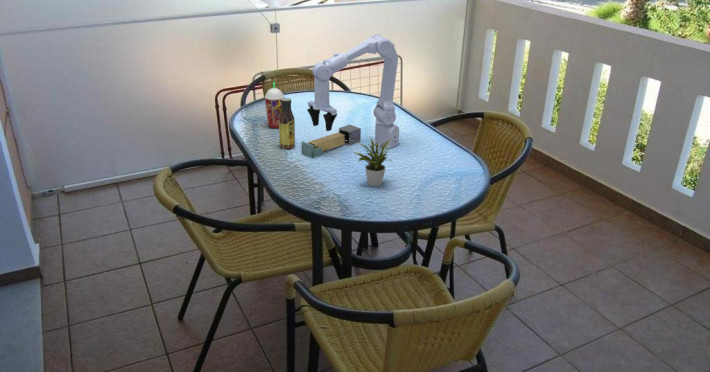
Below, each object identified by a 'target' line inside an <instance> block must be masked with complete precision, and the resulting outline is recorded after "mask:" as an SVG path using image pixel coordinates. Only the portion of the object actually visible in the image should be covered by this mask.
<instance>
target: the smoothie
mask: <svg viewBox="0 0 710 372" xmlns="http://www.w3.org/2000/svg"><path fill="white" fill-rule="evenodd" d="M272 85H273V86H272V87H271V88H269V89H268V90H267V92H266V94H265V95H264V101H265V109H266V110H265V111H266V118H267V120H266V121H267V124H268V126H269V128H272V129H279V115H280V113H281V111H282V103H281V99H283V98H285V95H284V94H283V92H282V90H281V89H279V88H277V87H275V86H276V83H275V81H273V82H272Z"/></svg>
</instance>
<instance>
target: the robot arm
mask: <svg viewBox="0 0 710 372" xmlns="http://www.w3.org/2000/svg"><path fill="white" fill-rule="evenodd" d="M365 54H374V55H377V54H379V56H380V57H381V58H382V59H383V67H382V68H383V69H382V77H381V85H380V92H379V99H378V100H377V101H376V106H375V107H374V109H373V116H374V117H375V127H374V128H375V129H374V131H375V132H374V140H373V142H374V146H376V144H375V142H376V143H377V142H378V147H380V146H381V145H382V144H383V143H384V142H387V141H388V140H391V139H392V140H391V141H389V143H388V144H389V145H388V144H387V145H388V147H387V145H386V147H387V148H386V147H385V148H386V149H387V150H389V149H392V148H395V146H398V145H399V144H400V139H399V138H400V128H399V126H398V125H396V124H395V121H396V119H397V115H396V111H395V110H396V107H395V104H394V96H395V95H394V94H395V86H396V78H397V71H398V64H399V54H398V53H397V51H396V48H395V43H393V42H392V41H391V40H390V39H388V38H385V37H384V36H383V35H381V34H374V35H372V36H370V37H367V38H366V39H365V40H364V41H362V42H361V43H359V44H357V45H356V46H354V47H353V48H351V49H349V50H348V51H346V52H345V53H341V52H335V53H333V56H331V57H329V58H327V59H323V60H322V62H317V63H315V64H314V66H313V68H312V69H311V73H312V75H313V76H314V80H313V81H314V88H313V89H314V101H313V100H310V101H308V102H307V106H308V108H307V110H306V111H307V112H308V115H310V119H311V122H312V125H313V127H316V126H317V127H318V126H319V124H320V123H319V122H320V115H321V114H320V112H325V114H323V115H322V117H323V118H324V123H325V130H326V131H325V132H330V131H332V129H333V124H334V123H335V119H336V118H337V116H338V112H337V109H336V108H334V107H333V106H331V104H330V79H331V77H332V75H334V74H335V73H337V72H339V71H341V70H343V69H344V68H346V67H348V64H349V62H350V61H353V60H355V59H357V58H359V57H361V56H363V55H365ZM384 144H385V143H384ZM384 144H383V145H384ZM383 145H382V147H383ZM382 147H381V148H382ZM385 148H384V149H385Z"/></svg>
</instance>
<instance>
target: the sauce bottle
mask: <svg viewBox="0 0 710 372" xmlns="http://www.w3.org/2000/svg"><path fill="white" fill-rule="evenodd" d="M281 103H282V111H281V113H280V115H279V128H278V132H279V133H278V134H279V135H278V137H279V147H280V148H281V149H286V150H289V149H293V148H295V144H296V130H295V129H296V128H295V126H296V124H295V123H296V122H295V119H296V118H295V116H294V114H293V111H292V99H291V98H289V97H284V98H283V99H281Z"/></svg>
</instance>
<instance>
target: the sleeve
mask: <svg viewBox="0 0 710 372" xmlns="http://www.w3.org/2000/svg"><path fill="white" fill-rule="evenodd" d="M338 133H341V134H344V135H345V140H347V141H345V142H344V144H343V145H346V146H347V145H348V146H351V145H355V144H358V143H360V142H361V141H362V140H361V138H362V129H361V127H358V126H356V125H352V124H347V125H345V126H341V127H339V128H338Z"/></svg>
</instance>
